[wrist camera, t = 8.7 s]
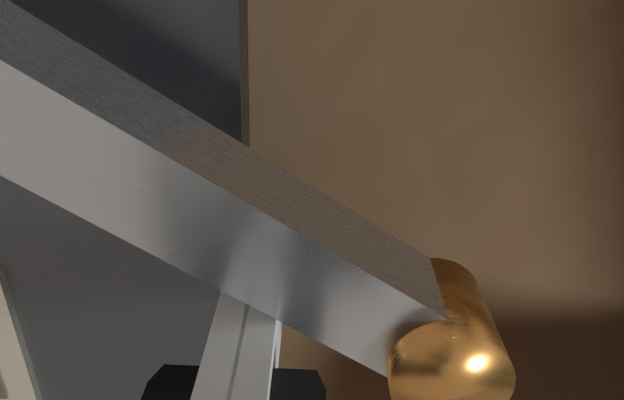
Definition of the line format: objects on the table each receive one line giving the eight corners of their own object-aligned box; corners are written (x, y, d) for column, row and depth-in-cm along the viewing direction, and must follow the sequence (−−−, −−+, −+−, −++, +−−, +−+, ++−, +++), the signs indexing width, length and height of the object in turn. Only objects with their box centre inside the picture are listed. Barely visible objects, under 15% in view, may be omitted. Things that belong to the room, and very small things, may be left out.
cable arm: (-406, -104, 10) (-679, -117, 7) (-410, -288, 8) (-749, -389, 6) (429, 355, 15) (452, 447, 12) (506, 285, 14) (550, 370, 11)
